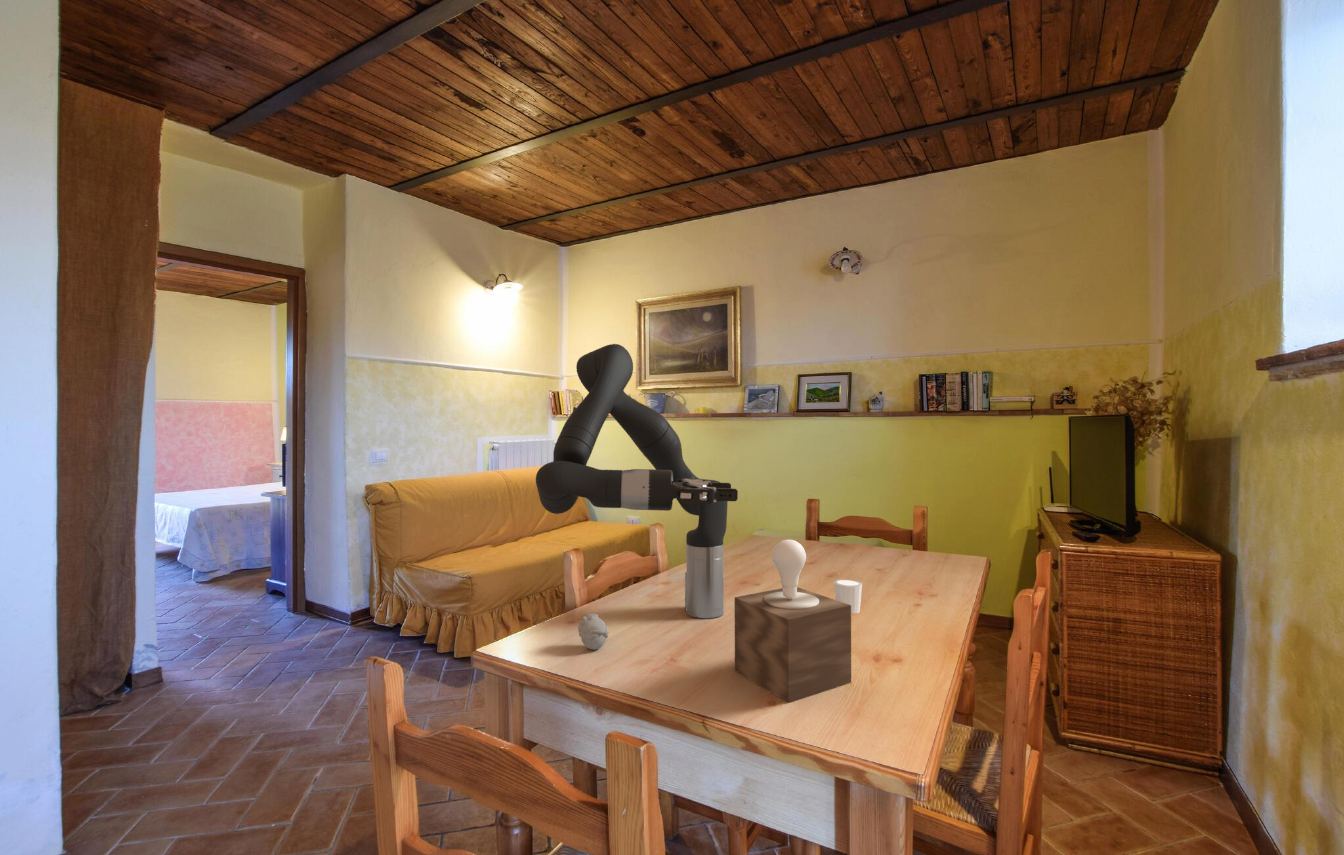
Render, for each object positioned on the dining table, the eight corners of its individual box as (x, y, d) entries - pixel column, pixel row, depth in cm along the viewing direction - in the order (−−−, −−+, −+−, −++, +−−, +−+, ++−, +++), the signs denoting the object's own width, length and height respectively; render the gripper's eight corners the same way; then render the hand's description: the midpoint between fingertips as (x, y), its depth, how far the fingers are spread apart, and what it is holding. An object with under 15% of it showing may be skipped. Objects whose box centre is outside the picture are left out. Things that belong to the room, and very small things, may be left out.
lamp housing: (734, 670, 111) (734, 595, 111) (795, 654, 119) (795, 583, 119) (788, 702, 98) (788, 617, 98) (852, 681, 106) (852, 602, 106)
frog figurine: (594, 640, 128) (594, 608, 128) (615, 648, 123) (615, 615, 123) (571, 648, 123) (571, 614, 123) (592, 657, 118) (591, 622, 118)
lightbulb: (807, 604, 105) (805, 543, 105) (772, 602, 106) (771, 542, 106) (806, 595, 111) (805, 537, 111) (773, 594, 112) (772, 536, 112)
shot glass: (865, 608, 149) (865, 581, 149) (858, 616, 143) (858, 587, 143) (838, 604, 152) (838, 577, 152) (830, 611, 147) (830, 583, 147)
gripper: (647, 473, 101) (740, 475, 102) (647, 465, 115) (729, 467, 116) (646, 516, 101) (739, 518, 102) (646, 503, 115) (728, 505, 116)
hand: (733, 491), depth 109 cm, fingers open, 8 cm apart
